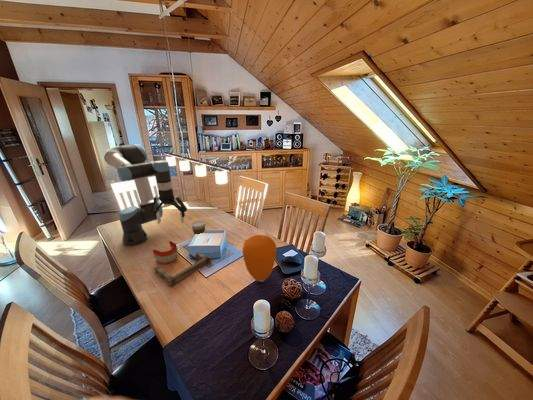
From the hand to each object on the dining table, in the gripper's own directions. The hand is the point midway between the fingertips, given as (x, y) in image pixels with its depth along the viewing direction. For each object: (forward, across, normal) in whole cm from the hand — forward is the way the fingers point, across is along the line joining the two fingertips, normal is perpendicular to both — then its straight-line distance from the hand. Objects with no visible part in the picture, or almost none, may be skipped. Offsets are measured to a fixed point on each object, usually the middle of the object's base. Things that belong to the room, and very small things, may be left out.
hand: (171, 222), depth 134 cm
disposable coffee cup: (+23, +11, +17) cm, 30 cm away
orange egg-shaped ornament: (+21, +52, -28) cm, 63 cm away
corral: (+22, +8, -15) cm, 28 cm away
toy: (+23, -3, -6) cm, 23 cm away
